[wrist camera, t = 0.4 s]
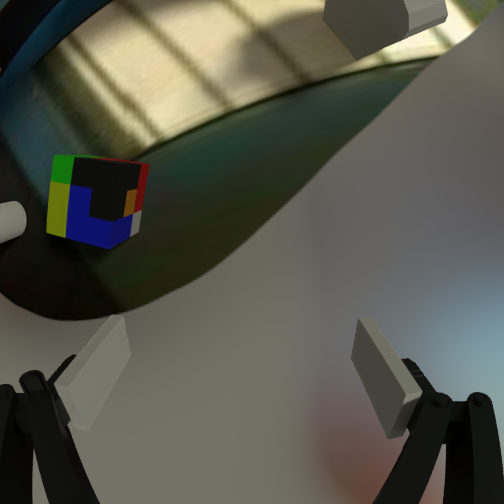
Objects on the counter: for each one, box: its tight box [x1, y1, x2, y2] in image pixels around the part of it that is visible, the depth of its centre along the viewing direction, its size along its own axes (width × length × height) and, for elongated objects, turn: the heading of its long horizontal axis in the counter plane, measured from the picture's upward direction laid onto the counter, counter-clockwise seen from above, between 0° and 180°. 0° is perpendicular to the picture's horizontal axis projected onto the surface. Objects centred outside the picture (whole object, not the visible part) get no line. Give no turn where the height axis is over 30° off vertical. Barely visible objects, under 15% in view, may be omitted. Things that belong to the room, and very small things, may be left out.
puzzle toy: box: [47, 155, 150, 249], centre depth 36 cm, size 10×10×10 cm
